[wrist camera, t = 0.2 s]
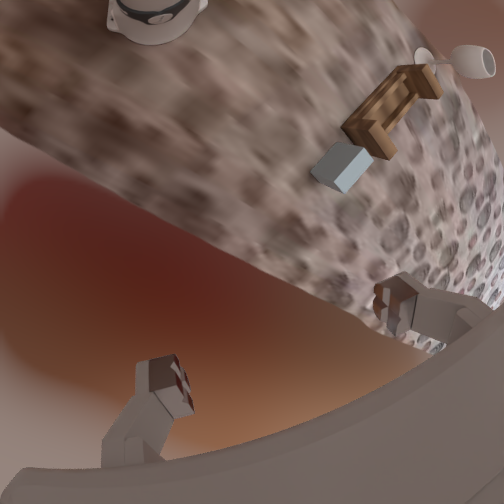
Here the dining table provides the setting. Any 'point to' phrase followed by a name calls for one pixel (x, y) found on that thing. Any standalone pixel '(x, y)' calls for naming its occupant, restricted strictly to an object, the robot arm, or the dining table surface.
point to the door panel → (342, 166)
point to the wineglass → (462, 61)
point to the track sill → (390, 108)
